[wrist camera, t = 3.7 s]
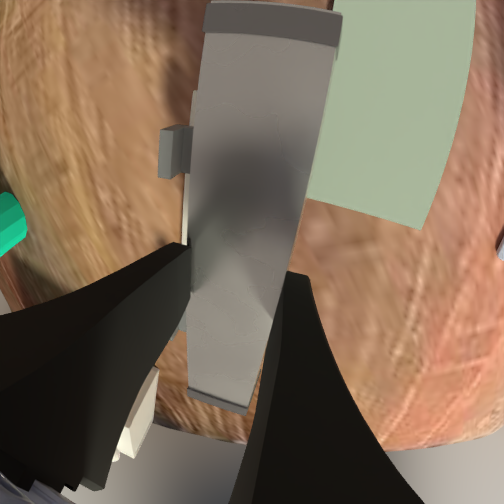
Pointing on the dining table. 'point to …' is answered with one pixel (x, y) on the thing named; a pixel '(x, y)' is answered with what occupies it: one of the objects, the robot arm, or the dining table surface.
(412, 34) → the mat
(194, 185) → the rail
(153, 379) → the butter dish
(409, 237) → the dining table surface
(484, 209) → the dining table surface
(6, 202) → the candle
